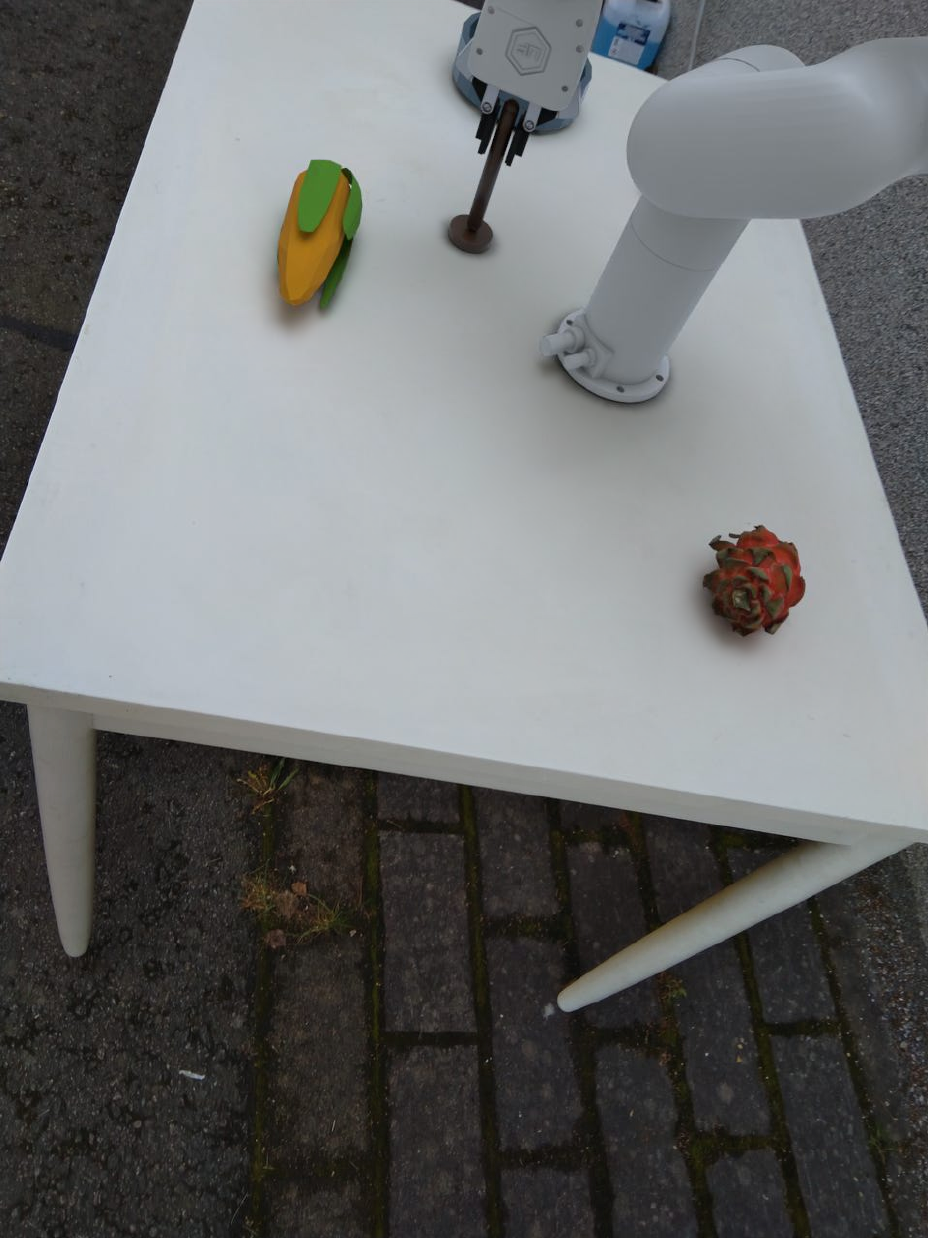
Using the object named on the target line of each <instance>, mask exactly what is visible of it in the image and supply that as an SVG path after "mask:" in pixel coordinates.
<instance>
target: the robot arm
mask: <svg viewBox="0 0 928 1238" xmlns="http://www.w3.org/2000/svg"><path fill="white" fill-rule="evenodd" d="M603 2H604V0H484V2H483V6H482V8H481V11H482V12H481V11H480V12H481V15H480V18H479V21H478V24H477V28H476V31H475V34H474V37H473V38H472V39H471V40H470V42H469V43H468V44H467V45H466V46H465V48H464V49H463V50H462V51H461V52H460V54H459V55H458V57H457V59H456V61H455V66H456V68H457V69H458V70H459V71H460V72H461V73H462V74H463V75H464V76H465V77H466V78H467V79H468V80H470V81H471V82H472V86H473V88H474V90H475V92H476V94H477V96H478V98H479V100H480V102H481V109H480V111H482V112H481V116H480V120H479V122H478V127H477V130H476V133H475V136H474V138H475V139H477V140H479V141H480V143H479V146H478V148H477V149H478V150H477V154H479V155H481V156H483V155H486V152H487V150H488V148H489V145H490V144H491V140H492V138H493V137H492V136H493V135H494V134H493V133H494V132H495V127H496V125H497V122H498V120H497V118H498V115H499V111H500V108H501V105H500V98H499V94H500V91H501V90H503V91H505V92H507V93H510V94H512V95H514V96H517V97H519V98H522V99H524V100H526V101H529V102H530V103H529V106H528V109H527V110H525V111H524V114H523V115H522V114H521V117H520V119H519V122H518V124H517V127H515V129H514V132H513V136H512V139H511V142H510V144H509V148H508V151H507V153H506V155H505V156H506V157H505V160H504V164H505V166H507V167H510V168H511V166H512V164H513V161H514V159H515V156H517V157H520V158H522V157H523V155H524V152H525V149H526V146H527V143H528V140H529V137H530V135H531V132H533V131H535V130H534V129H535V127H537V126H539V125H542V124H544V123H546V122H549V121H551V120H553V119H555V118H559V119H572V118H575V119H577V118H578V117H579V115H580V112H581V109H582V105H581V87H580V77H581V74H582V72H583V69H584V66H585V63H586V60H587V57H588V56H589V53H590V50H591V48H592V44H593V40H594V38H595V35H596V31H597V27H598V24H599V20H600V16H601V12H602V7H603V4H604V3H603ZM626 161H627V168H628V171H629V174H630V177H631V179H632V181H633V183H634V185H635V187H636V188H637V189H638V191H639V192H640V196H639V198H638V200H637V202H636V204H635V207H634V208H633V210H632V211H631V213H630V215H629V218H628V219H627V222H626V224H625V226H624V228H623V230H622V232H621V234H620V236H619V238H618V240H617V243H616V244H615V246H614V248H613V251H612V252H611V254H610V257H609V259H608V260H607V263H606V265H605V267H604V269H603V271H602V273H601V275H600V277H599V279H598V281H597V283H596V284H595V287H594V289H593V291H592V293H591V295H590V297H589V299H588V301H587V304H586V305H585V307H584V308H581V309H577V310H575V311H573V312H571V313H569V314H568V315H567V316H566V317H565V318H563V320H562V321H561V323H560V325H559V327H558V329H557V332H556V333H555V334H550V335H546V336H542V337H541V338H540V339H539V343H538V348H539V353H540V354H541V355H542V356H543V357H551V356H556V355H557V358H558V359H559V361H560V363H561V365H562V367H563V368H564V369H565V371H566V372H567V373H568V374H569V375H570V377H571V378H572V379H573V380H574V381H576V382H577V383H578V384H579V385H581V386H582V387H584V388H585V390H588V391H589V392H591V393H593V394H595V395H596V396H599V397H602V398H604V399H607V400H610V401H615V402H620V403H630V404H631V403H640V402H644V401H648V400H650V399H651V398H653V397H655V396H657V395H658V394H659V393H660V392H661V391H662V389H663V388H664V386H665V385H666V383H667V381H668V379H669V376H670V370H671V369H670V368H671V366H670V360H669V357H668V354H667V353H668V351H669V350H670V349H671V347H672V345H673V344H674V342H675V341H676V339H677V337H678V336H679V334H680V333H681V331H682V329H683V328H684V326H685V325H686V323H687V321H688V320H689V318H690V317H691V315H692V313H693V312H694V310H695V309H696V307H697V306H698V304H699V302H700V301H701V299H702V297H703V295H704V294H705V293H706V291H707V290H708V288H709V286H710V284H711V283H712V281H713V280H714V278H715V277H716V275H717V273H718V271H720V269H721V267H722V265H723V264H724V263H725V261H726V260H727V258H728V256H729V255H730V253H731V251H733V248H734V247H735V245H736V243H738V241H739V240H740V237H741V236H742V234H743V233H744V231H745V229H747V226H748V225H749V224H750V223H751V221H752V220H807V219H808V220H809V219H817V218H823V217H828V216H833V215H836V214H841V213H843V212H846V211H849V210H851V209H853V208H856V207H858V206H860V205H861V204H864V203H865V202H867V201H869V200H870V199H871V198H873V197H875V196H876V195H877V194H879V193H880V192H881V191H883V190H884V189H886V188H887V187H889V186H890V185H892V184H894V183H895V182H897V181H900V180H901V179H904V178H907V177H913V176H919V175H925V174H926V175H928V35H927V36H926V35H925V36H908V37H907V36H906V37H881V38H875V39H871V40H869V41H865V42H863V43H859V44H857V45H854V46H852V47H850V48H848V49H846V50H844V51H842V52H840V53H838V54H835V56H832V57H831V58H828V59H827V60H825V61H822V62H819V63H816V64H812V65H805V63H804V62H803V61H802V60H801V59H800V58H799V57H798V56H797V55H796V54H795V53H793V52H791V51H790V50H789V49H786V48H783V47H781V46H777V45H772V44H755V45H754V44H753V45H748V46H744V47H741V48H738V49H735V50H733V51H730V52H727V53H724V54H723V55H721V56H718V57H716V58H714V59H712V60H710V61H708V62H707V61H706V63H704V64H702V65H700V66H698V67H696V68H694V69H691V70H688V71H687V72H684V73H683V74H680V75H678V76H676V77H674V78H672V79H671V80H669V81H667V82H665V83H663V84H662V85H661V86H659V87H658V88H657V89H655V90H654V91H653V92H652V93H651V94H650V95H649V96H648V97H647V98H646V99H645V100H644V102H643V103H642V105H641V106H640V107H639V109H638V110H637V113H636V114H635V116H634V118H633V120H632V123H631V125H630V128H629V131H628V135H627V139H626Z"/></svg>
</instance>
